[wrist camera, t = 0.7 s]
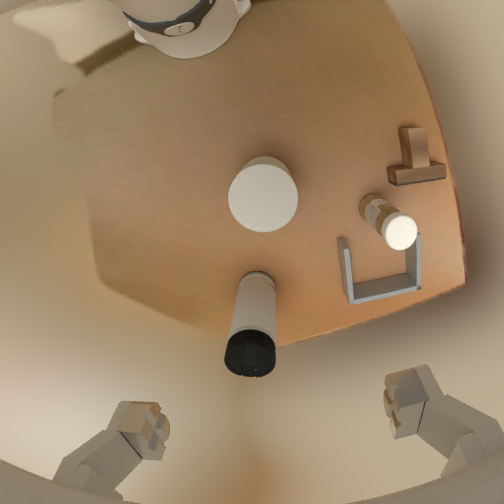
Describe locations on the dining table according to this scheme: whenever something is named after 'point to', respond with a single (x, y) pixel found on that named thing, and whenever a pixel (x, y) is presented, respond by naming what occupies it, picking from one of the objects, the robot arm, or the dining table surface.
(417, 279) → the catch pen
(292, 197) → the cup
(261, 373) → the travel mug
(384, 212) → the sprinkles bottle
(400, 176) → the scraper
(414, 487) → the robot arm
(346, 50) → the dining table surface
